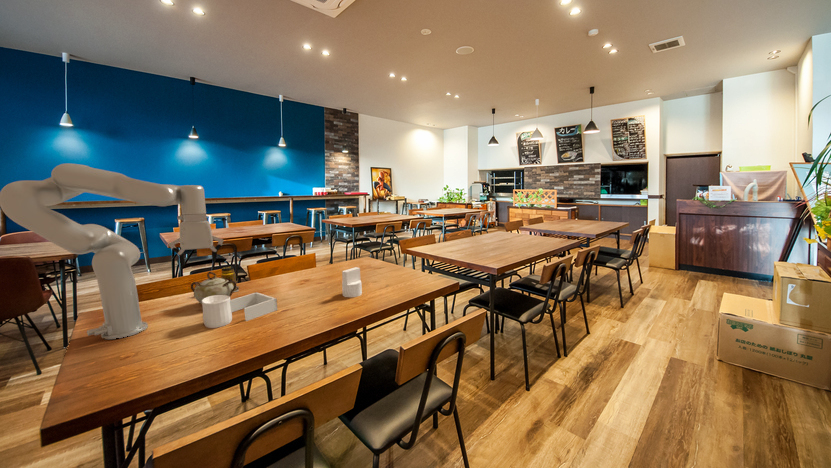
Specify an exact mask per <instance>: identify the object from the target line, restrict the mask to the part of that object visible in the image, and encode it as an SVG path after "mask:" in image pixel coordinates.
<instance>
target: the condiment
mask: <svg viewBox="0 0 831 468" xmlns="http://www.w3.org/2000/svg"><path fill="white" fill-rule="evenodd" d="M220 270H221V274H220V276H221V277H220V278H222V279H227V280H228V281H230V280H233V281H235V283H236V288H235V290H234V291H233V293H234V292H235V293H236V292H239V291H240V290H239V288H240V287H239V286H237V285H238V284H237V280H236V279H237V278H236V272H235V269H234V266H224V267H222V268H221V269H220ZM232 284H233V283H232ZM233 287H234V284H233Z"/></svg>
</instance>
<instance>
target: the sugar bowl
mask: <svg viewBox="0 0 831 468" xmlns="http://www.w3.org/2000/svg"><path fill="white" fill-rule="evenodd" d="M210 274H211V275H213V277H212V276H210ZM206 276H207V279H205V280H203V281H202V282H200V281H193V282H192V283H191V284H190V289H191V291H192V292H193V297H194V299H195V300H196V301H197V302H199V304H201V305H202V300H203V299H204V298H206V297H209V296H214V295H227V296H229V297H230V298H231V297H232V295H233V293H234V292H233V291H234V290H235V288H236V285H237V282H236V283H235V281H233V280H230V281H228V280H227V279H222V278H221V277H217V275H216V273H215V272H213V271H209V272H207V275H206ZM232 283H233V284H234V287H233V284H232ZM194 285H195V286H194Z"/></svg>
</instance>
